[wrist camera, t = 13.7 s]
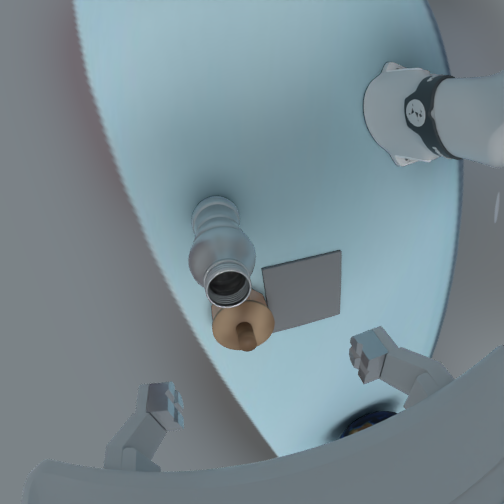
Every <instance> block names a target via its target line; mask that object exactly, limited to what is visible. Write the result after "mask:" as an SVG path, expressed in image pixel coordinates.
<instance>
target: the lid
mask: <svg viewBox="0 0 504 504" xmlns="http://www.w3.org/2000/svg"><path fill="white" fill-rule="evenodd" d="M274 326H275V320H274V317H273V314H272V312H271V310H270V309H269V308H268V307H267V306H266V305H264V304H263V303H261V302H258V301H255V300H246V301H244V302H243V303H242V304H240V305H238V306H236V307H232V308H221V309H220V310H219V311H218V313H217V314H216V315H215V317H214V319H213V323H212V330H213V335H214V337H215V339H216V340H217V342H218V343H220V344H221V345H222V346H224V347H226V348H229V349H233V350H243V351H251V350H253V349H255V348H256V347H257V346H259V345H260V344H262V343H264V342H265V341H266V340H267V339H268V338H269V337H270V336H271V334H272V332H273V330H274Z"/></svg>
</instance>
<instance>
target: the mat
mask: <svg viewBox="0 0 504 504" xmlns="http://www.w3.org/2000/svg"><path fill="white" fill-rule="evenodd" d="M262 274H263V280H264V287H265V293H266V300H267V306H268V308H269V309H270V310H271V312H272V314H273V317H274V320H275V326H274V330H273V332H272V333H274V332H278V331H282V330H286V329H289V328H293V327H297V326H300V325H304V324H308V323H311V322H315V321H318V320H321V319H325V318H328V317H331V316H335V315H338V314H340V295H341V251H340V250H337V251H333V252H329V253H325V254H321V255H317V256H312V257H308V258H304V259H300V260H295V261H291V262H287V263H282V264H278V265H274V266H269V267H265V268H262Z"/></svg>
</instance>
